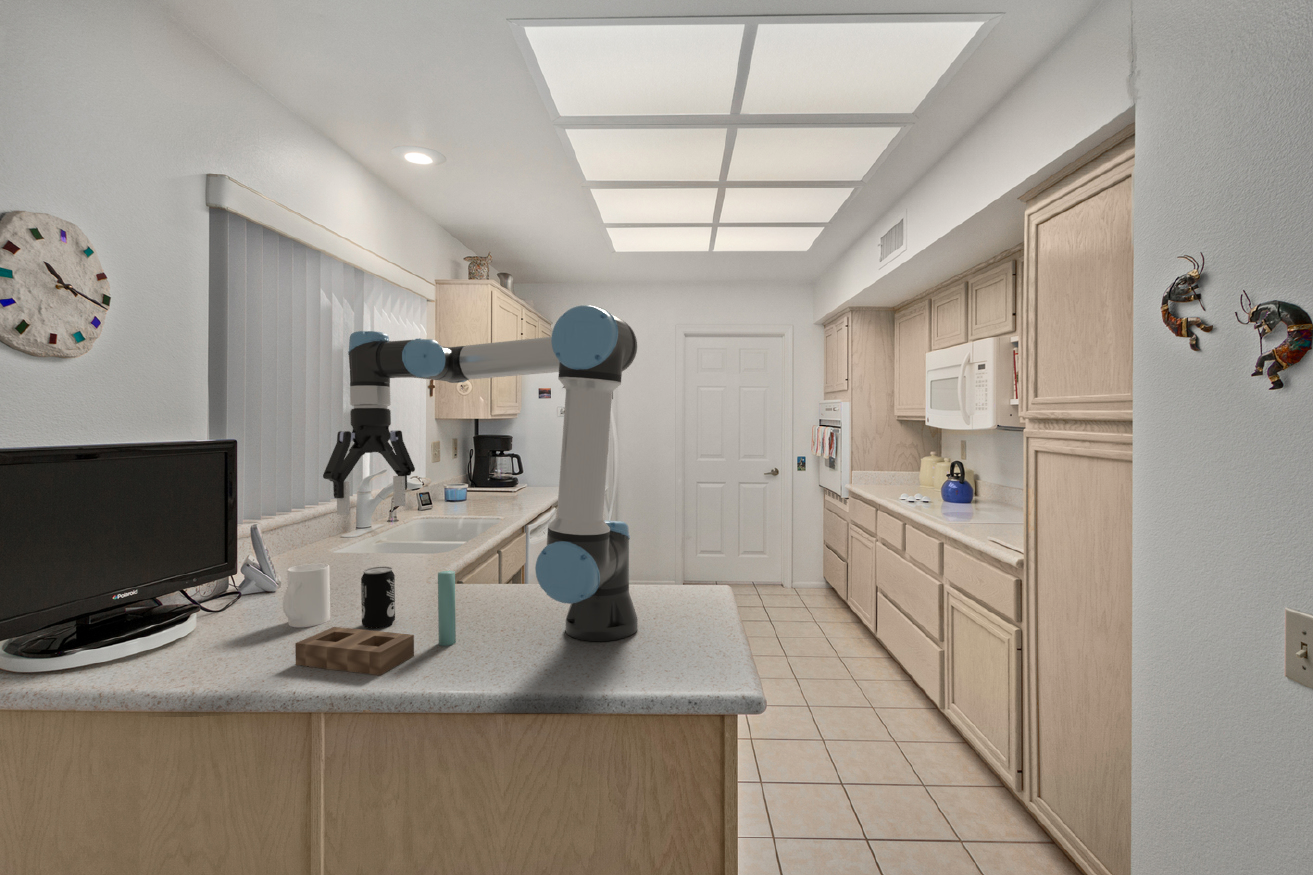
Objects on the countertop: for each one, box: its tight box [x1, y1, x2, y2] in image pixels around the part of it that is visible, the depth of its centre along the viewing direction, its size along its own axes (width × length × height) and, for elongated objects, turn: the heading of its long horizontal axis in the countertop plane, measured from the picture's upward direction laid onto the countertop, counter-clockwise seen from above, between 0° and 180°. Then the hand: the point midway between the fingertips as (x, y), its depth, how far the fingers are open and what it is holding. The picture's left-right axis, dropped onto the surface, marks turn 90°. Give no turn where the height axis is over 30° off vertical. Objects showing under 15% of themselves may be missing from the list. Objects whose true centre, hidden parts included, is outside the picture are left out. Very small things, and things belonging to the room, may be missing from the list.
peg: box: [437, 570, 457, 647], centre depth 119 cm, size 3×3×14 cm
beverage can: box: [360, 566, 396, 630], centre depth 130 cm, size 7×7×12 cm
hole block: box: [294, 626, 415, 676], centre depth 110 cm, size 18×9×4 cm, turn 75°
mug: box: [282, 562, 331, 628], centre depth 131 cm, size 8×12×12 cm
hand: (372, 510), depth 125 cm, fingers open, 13 cm apart
